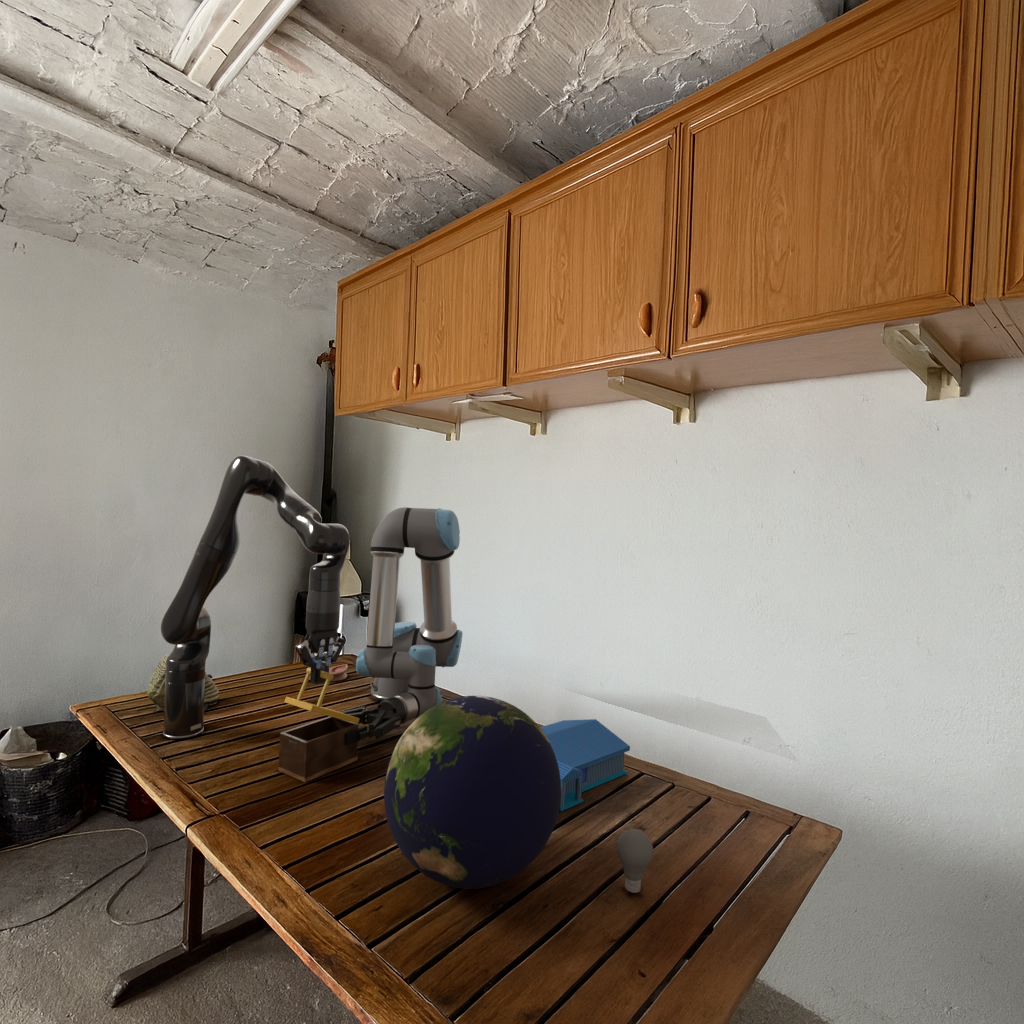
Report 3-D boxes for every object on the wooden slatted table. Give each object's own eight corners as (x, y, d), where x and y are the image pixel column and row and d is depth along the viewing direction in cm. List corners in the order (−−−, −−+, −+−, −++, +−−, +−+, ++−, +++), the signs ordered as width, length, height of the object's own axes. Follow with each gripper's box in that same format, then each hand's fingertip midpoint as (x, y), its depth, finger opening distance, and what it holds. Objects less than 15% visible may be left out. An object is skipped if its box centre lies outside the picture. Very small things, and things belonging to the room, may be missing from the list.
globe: (343, 899, 100) (350, 710, 100) (435, 815, 128) (441, 667, 127) (518, 958, 89) (528, 746, 88) (578, 852, 117) (585, 690, 116)
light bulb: (610, 879, 108) (613, 822, 108) (644, 879, 109) (647, 822, 109) (619, 902, 102) (622, 840, 102) (655, 901, 103) (658, 840, 103)
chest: (305, 782, 140) (306, 743, 140) (278, 770, 145) (279, 732, 145) (357, 760, 153) (358, 724, 153) (331, 750, 158) (332, 715, 158)
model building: (516, 830, 123) (519, 779, 123) (442, 785, 141) (444, 740, 141) (638, 777, 150) (640, 735, 149) (562, 745, 168) (564, 707, 167)
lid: (310, 711, 140) (325, 671, 144) (283, 702, 146) (299, 663, 149) (357, 723, 153) (371, 687, 156) (331, 715, 158) (344, 679, 161)
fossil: (144, 707, 182) (145, 655, 182) (212, 696, 194) (213, 647, 194) (151, 716, 175) (153, 662, 175) (221, 703, 188) (223, 653, 188)
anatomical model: (300, 668, 215) (317, 660, 226) (300, 679, 215) (317, 671, 226) (336, 672, 212) (352, 663, 224) (336, 683, 212) (351, 675, 224)
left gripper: (309, 614, 140) (305, 692, 140) (356, 608, 152) (352, 680, 152) (288, 609, 144) (284, 685, 144) (335, 603, 156) (331, 674, 156)
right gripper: (427, 734, 165) (363, 761, 146) (367, 715, 177) (300, 738, 158) (428, 705, 164) (364, 729, 146) (368, 688, 177) (301, 708, 158)
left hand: (319, 682), depth 148 cm, fingers closed
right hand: (331, 734), depth 152 cm, fingers closed on chest, 9 cm apart
